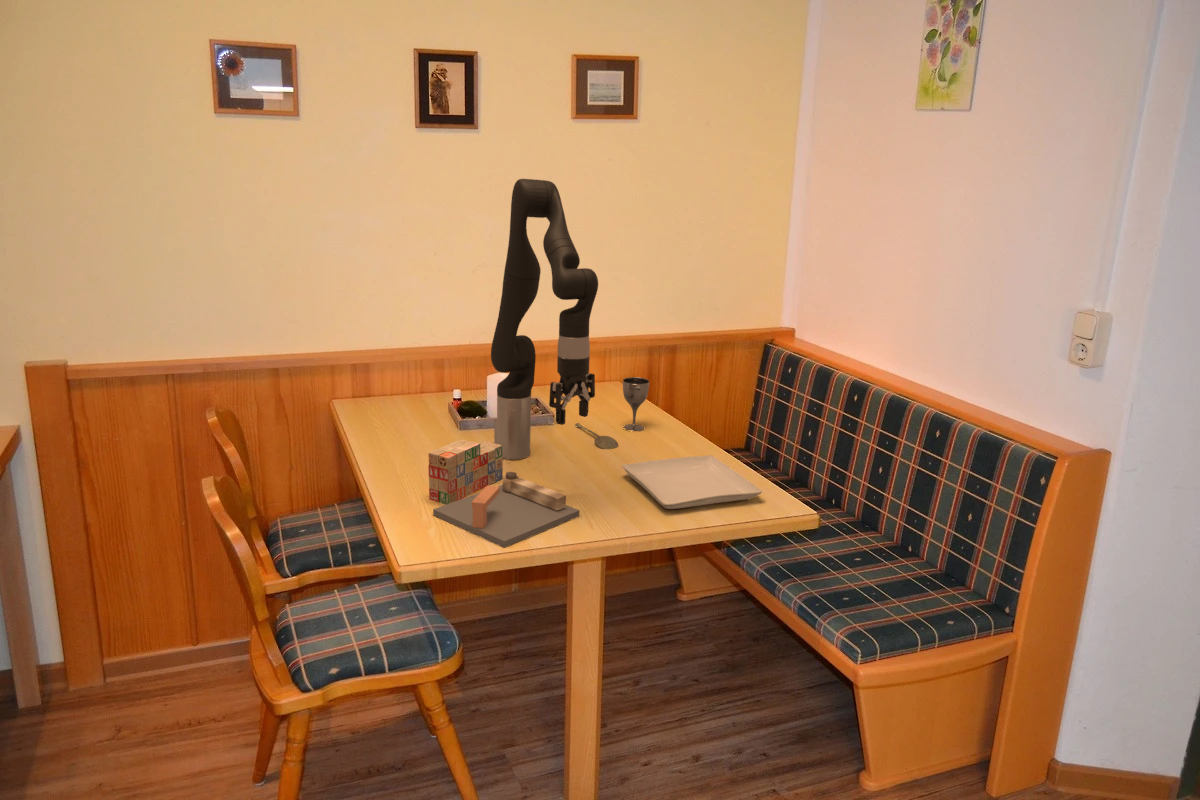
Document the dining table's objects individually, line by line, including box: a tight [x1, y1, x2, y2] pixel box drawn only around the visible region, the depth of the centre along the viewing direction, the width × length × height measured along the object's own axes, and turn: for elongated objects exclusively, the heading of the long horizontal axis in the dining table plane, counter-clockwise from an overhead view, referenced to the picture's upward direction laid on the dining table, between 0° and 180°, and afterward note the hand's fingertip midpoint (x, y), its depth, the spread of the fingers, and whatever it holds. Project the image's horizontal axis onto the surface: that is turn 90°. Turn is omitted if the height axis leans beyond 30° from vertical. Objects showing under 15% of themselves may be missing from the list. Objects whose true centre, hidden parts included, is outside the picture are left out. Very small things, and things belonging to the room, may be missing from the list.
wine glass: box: [622, 376, 650, 432], centre depth 280 cm, size 8×8×15 cm
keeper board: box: [432, 484, 580, 548], centre depth 215 cm, size 24×24×8 cm
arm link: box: [502, 471, 567, 510], centre depth 221 cm, size 19×4×4 cm, turn 49°
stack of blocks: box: [428, 438, 504, 505], centre depth 229 cm, size 21×6×12 cm, turn 149°
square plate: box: [621, 455, 763, 510], centre depth 236 cm, size 27×27×4 cm
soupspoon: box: [574, 422, 619, 450], centre depth 272 cm, size 22×3×7 cm
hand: (572, 420), depth 221 cm, fingers open, 8 cm apart
